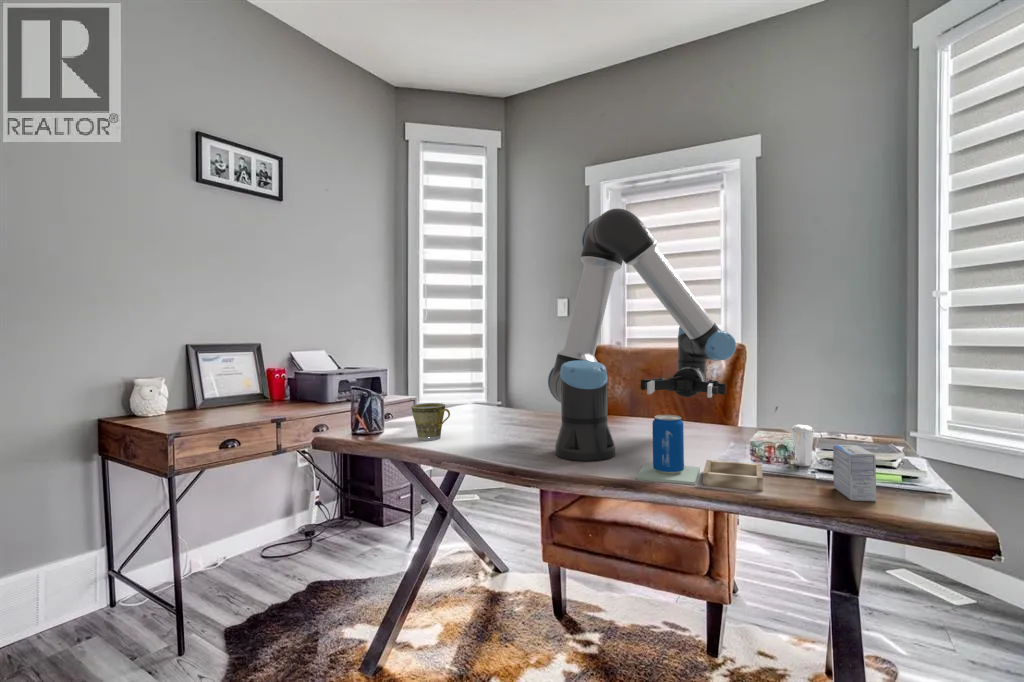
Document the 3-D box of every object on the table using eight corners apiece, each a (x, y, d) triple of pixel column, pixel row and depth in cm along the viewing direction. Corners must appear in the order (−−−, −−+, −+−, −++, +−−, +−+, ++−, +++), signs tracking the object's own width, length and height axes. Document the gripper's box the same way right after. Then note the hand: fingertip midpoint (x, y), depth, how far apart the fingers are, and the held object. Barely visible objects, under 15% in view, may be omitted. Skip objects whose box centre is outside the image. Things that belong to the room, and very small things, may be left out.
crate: (703, 485, 109) (702, 472, 109) (706, 471, 119) (706, 459, 119) (762, 490, 104) (762, 478, 104) (761, 475, 114) (761, 464, 114)
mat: (635, 479, 114) (635, 476, 114) (645, 465, 125) (645, 462, 125) (695, 485, 109) (695, 482, 109) (700, 469, 120) (699, 467, 120)
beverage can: (651, 474, 115) (650, 418, 115) (655, 466, 121) (654, 413, 121) (682, 476, 113) (682, 420, 112) (685, 469, 119) (684, 415, 118)
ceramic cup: (405, 440, 158) (404, 406, 158) (427, 434, 167) (426, 402, 166) (439, 444, 151) (438, 409, 151) (460, 437, 160) (459, 404, 159)
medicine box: (877, 502, 97) (876, 454, 96) (849, 501, 97) (849, 454, 97) (858, 488, 104) (857, 444, 104) (832, 488, 105) (832, 444, 105)
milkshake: (809, 469, 118) (809, 424, 118) (787, 463, 123) (786, 420, 123) (821, 466, 120) (821, 422, 120) (799, 461, 125) (799, 418, 125)
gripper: (737, 398, 140) (735, 409, 120) (640, 393, 150) (624, 402, 130) (738, 369, 140) (736, 376, 120) (641, 366, 150) (625, 371, 130)
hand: (678, 390), depth 125 cm, fingers open, 13 cm apart
